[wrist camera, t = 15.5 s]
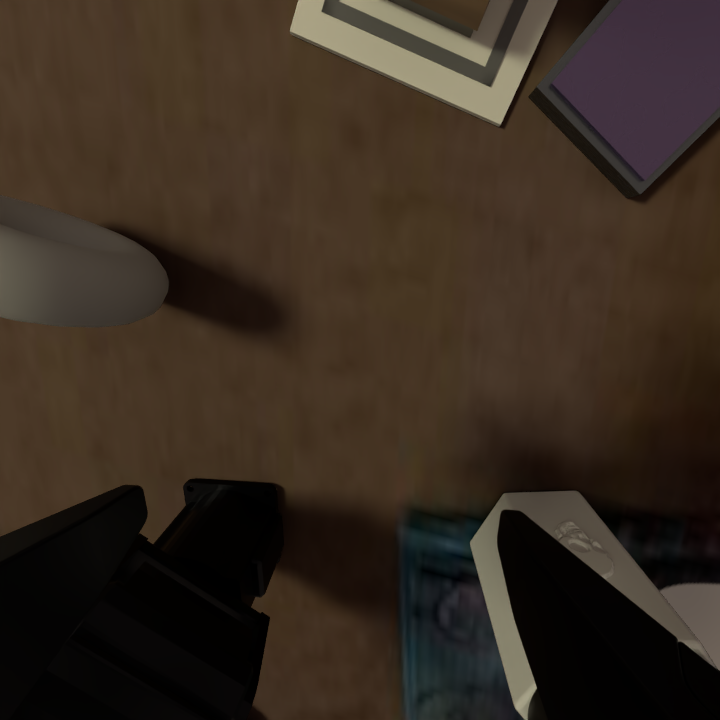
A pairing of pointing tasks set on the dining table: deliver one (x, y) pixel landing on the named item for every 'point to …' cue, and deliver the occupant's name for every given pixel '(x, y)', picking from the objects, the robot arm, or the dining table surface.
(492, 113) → the print card
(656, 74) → the ink pad
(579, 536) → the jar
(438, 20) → the stamp
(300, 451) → the dining table surface
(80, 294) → the donut
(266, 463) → the dining table surface
